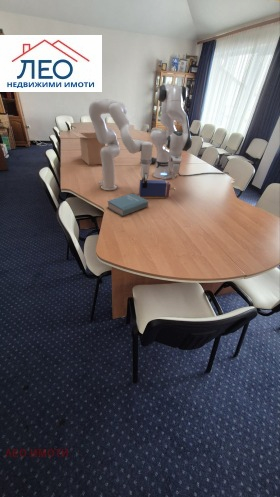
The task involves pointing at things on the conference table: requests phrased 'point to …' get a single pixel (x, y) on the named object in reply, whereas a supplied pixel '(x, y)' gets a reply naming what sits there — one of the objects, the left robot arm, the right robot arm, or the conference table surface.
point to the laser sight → (153, 160)
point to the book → (127, 204)
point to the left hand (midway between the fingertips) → (144, 185)
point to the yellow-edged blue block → (153, 189)
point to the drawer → (169, 189)
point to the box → (90, 147)
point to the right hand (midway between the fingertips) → (171, 176)
